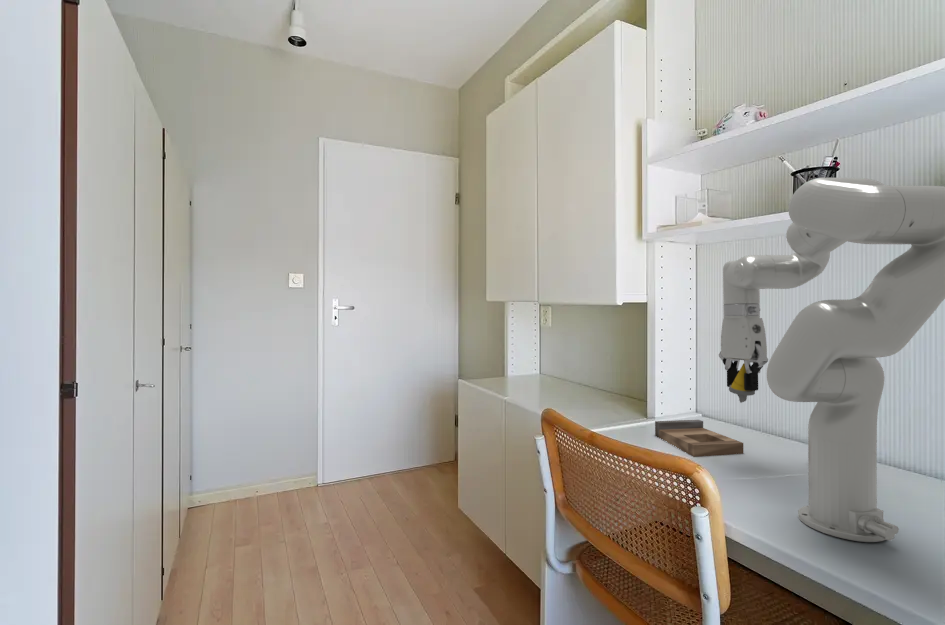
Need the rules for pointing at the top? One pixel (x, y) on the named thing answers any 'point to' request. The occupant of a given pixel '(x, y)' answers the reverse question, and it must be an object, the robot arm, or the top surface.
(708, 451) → the jig
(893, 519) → the top surface
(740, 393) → the drill bit
